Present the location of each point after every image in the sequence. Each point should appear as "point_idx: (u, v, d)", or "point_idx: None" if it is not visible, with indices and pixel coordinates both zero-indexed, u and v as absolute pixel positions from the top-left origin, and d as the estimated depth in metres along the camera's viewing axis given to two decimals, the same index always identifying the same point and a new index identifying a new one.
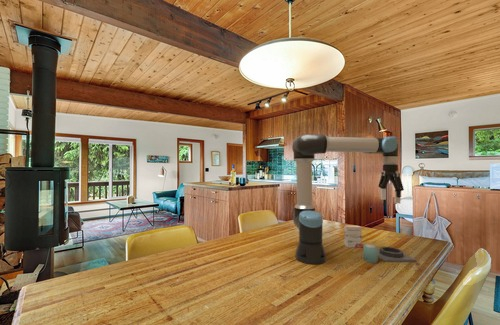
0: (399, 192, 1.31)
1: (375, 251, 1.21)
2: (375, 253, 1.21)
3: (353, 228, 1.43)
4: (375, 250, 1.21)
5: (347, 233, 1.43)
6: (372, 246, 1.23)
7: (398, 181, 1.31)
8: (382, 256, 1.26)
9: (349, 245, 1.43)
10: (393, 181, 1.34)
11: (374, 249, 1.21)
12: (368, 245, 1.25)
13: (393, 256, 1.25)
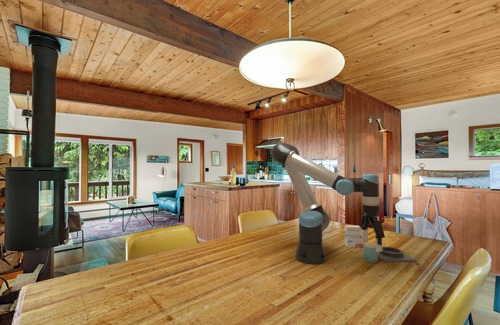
0: (380, 239, 1.15)
1: (375, 251, 1.21)
2: (375, 253, 1.21)
3: (353, 228, 1.43)
4: (375, 250, 1.21)
5: (347, 233, 1.43)
6: (372, 246, 1.23)
7: (379, 226, 1.16)
8: (382, 256, 1.26)
9: (349, 245, 1.43)
10: (374, 225, 1.19)
11: (374, 249, 1.21)
12: (368, 245, 1.25)
13: (393, 256, 1.25)
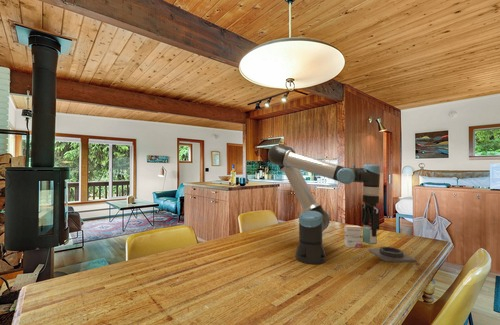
0: (375, 231, 1.19)
1: None
2: None
3: (353, 228, 1.43)
4: None
5: (347, 233, 1.43)
6: None
7: (376, 219, 1.18)
8: (382, 256, 1.26)
9: (349, 245, 1.43)
10: (371, 217, 1.21)
11: None
12: (367, 227, 1.25)
13: (393, 256, 1.25)
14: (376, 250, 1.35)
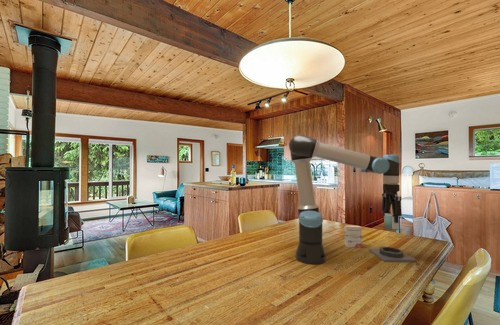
0: (397, 217, 1.25)
1: None
2: None
3: (353, 228, 1.43)
4: None
5: (347, 233, 1.43)
6: None
7: (398, 206, 1.24)
8: (382, 256, 1.26)
9: (349, 245, 1.43)
10: (393, 204, 1.27)
11: None
12: (389, 214, 1.31)
13: (393, 256, 1.25)
14: (376, 250, 1.35)
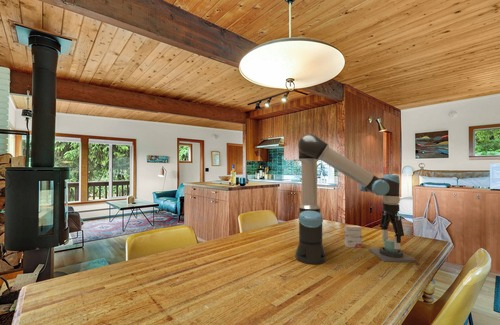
0: (399, 237, 1.23)
1: None
2: None
3: (353, 228, 1.43)
4: None
5: (347, 233, 1.43)
6: (393, 240, 1.29)
7: (399, 225, 1.22)
8: (382, 256, 1.26)
9: (349, 245, 1.43)
10: (394, 224, 1.26)
11: None
12: (389, 239, 1.31)
13: (393, 256, 1.25)
14: (376, 250, 1.35)
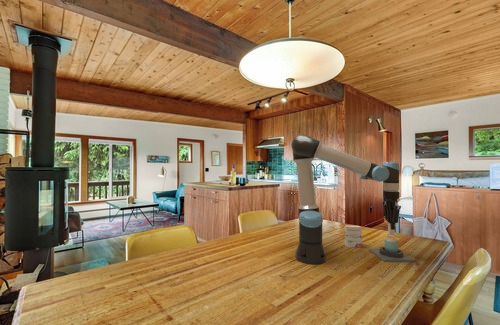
0: (393, 224, 1.28)
1: (396, 245, 1.27)
2: (396, 247, 1.27)
3: (353, 228, 1.43)
4: (396, 244, 1.27)
5: (347, 233, 1.43)
6: (393, 240, 1.29)
7: (396, 214, 1.25)
8: (382, 256, 1.26)
9: (349, 245, 1.43)
10: (391, 212, 1.28)
11: (395, 243, 1.27)
12: (389, 239, 1.31)
13: (393, 256, 1.25)
14: (376, 250, 1.35)
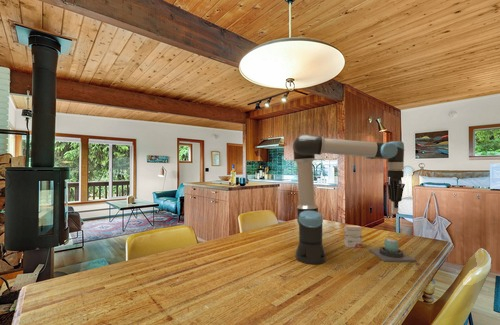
0: (397, 203, 1.31)
1: (396, 245, 1.27)
2: (396, 247, 1.27)
3: (353, 228, 1.43)
4: (396, 244, 1.27)
5: (347, 233, 1.43)
6: (393, 240, 1.29)
7: (399, 192, 1.28)
8: (382, 256, 1.26)
9: (349, 245, 1.43)
10: (395, 190, 1.31)
11: (395, 243, 1.27)
12: (389, 239, 1.31)
13: (393, 256, 1.25)
14: (376, 250, 1.35)
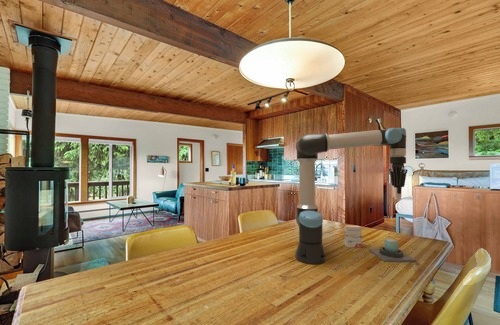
0: (400, 188, 1.32)
1: (396, 245, 1.27)
2: (396, 247, 1.27)
3: (353, 228, 1.43)
4: (396, 244, 1.27)
5: (347, 233, 1.43)
6: (393, 240, 1.29)
7: (402, 178, 1.30)
8: (382, 256, 1.26)
9: (349, 245, 1.43)
10: (398, 176, 1.32)
11: (395, 243, 1.27)
12: (389, 239, 1.31)
13: (393, 256, 1.25)
14: (376, 250, 1.35)
